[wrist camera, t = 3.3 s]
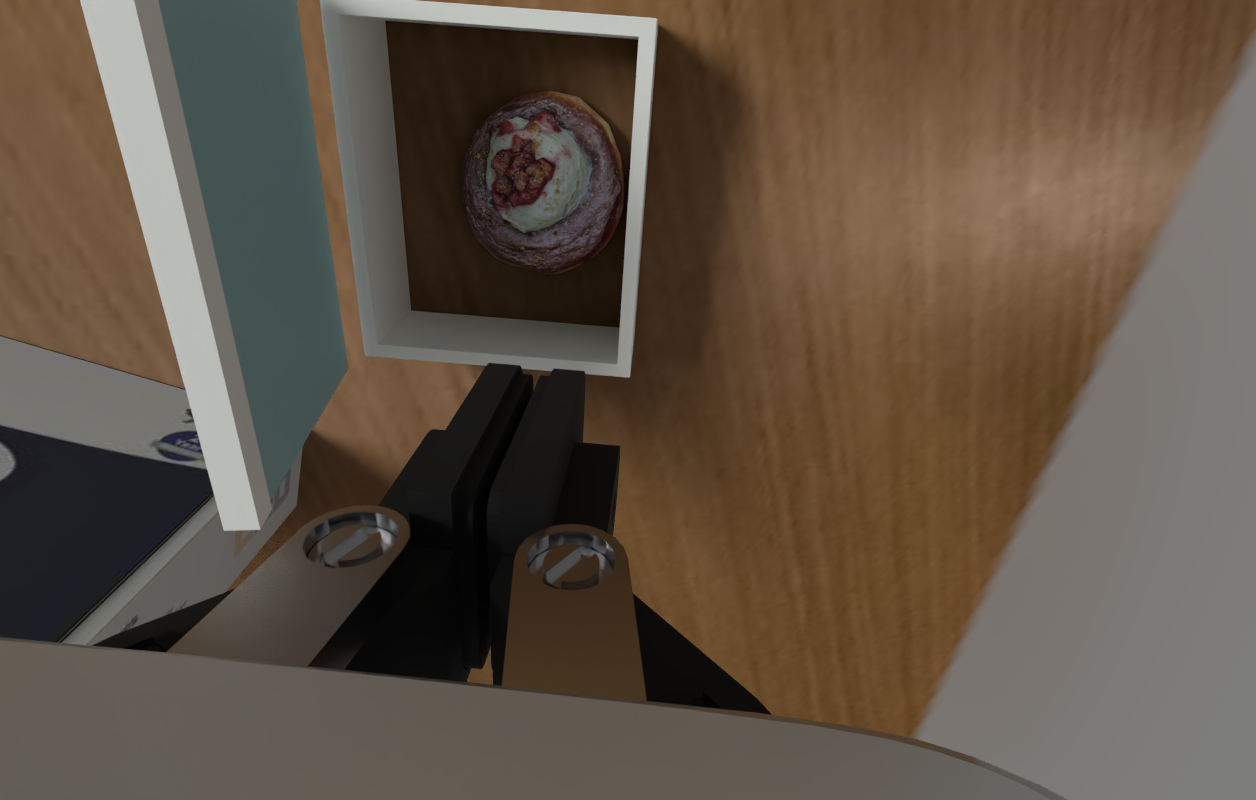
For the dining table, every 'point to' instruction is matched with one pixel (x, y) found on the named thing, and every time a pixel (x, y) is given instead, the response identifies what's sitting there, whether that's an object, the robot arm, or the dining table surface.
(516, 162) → the pastry
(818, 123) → the dining table surface
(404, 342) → the box
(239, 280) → the lid
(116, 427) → the packaging
